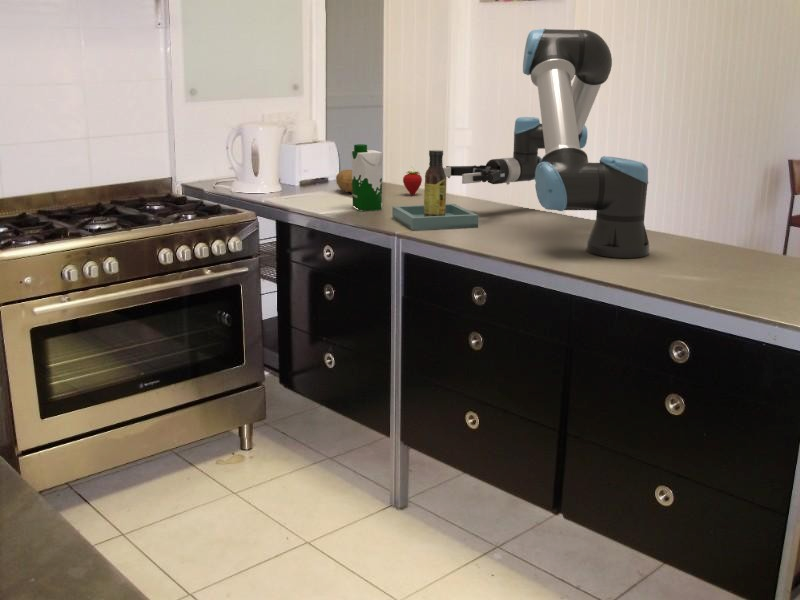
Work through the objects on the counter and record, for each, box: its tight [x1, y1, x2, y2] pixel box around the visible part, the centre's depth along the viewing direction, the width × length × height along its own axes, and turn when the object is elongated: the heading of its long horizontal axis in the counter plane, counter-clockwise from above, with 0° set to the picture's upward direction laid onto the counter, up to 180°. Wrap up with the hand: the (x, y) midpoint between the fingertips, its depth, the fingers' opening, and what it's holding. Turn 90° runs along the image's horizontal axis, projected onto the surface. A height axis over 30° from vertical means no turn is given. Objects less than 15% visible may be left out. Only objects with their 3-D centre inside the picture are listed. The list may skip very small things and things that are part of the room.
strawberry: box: [402, 165, 423, 196], centre depth 299 cm, size 6×8×10 cm
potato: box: [336, 169, 352, 193], centre depth 304 cm, size 10×14×8 cm
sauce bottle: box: [423, 149, 447, 217], centre depth 250 cm, size 6×6×20 cm
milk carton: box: [350, 143, 384, 211], centre depth 271 cm, size 9×9×20 cm
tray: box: [391, 203, 479, 232], centre depth 252 cm, size 20×20×4 cm
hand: (447, 176), depth 252 cm, fingers open, 13 cm apart
